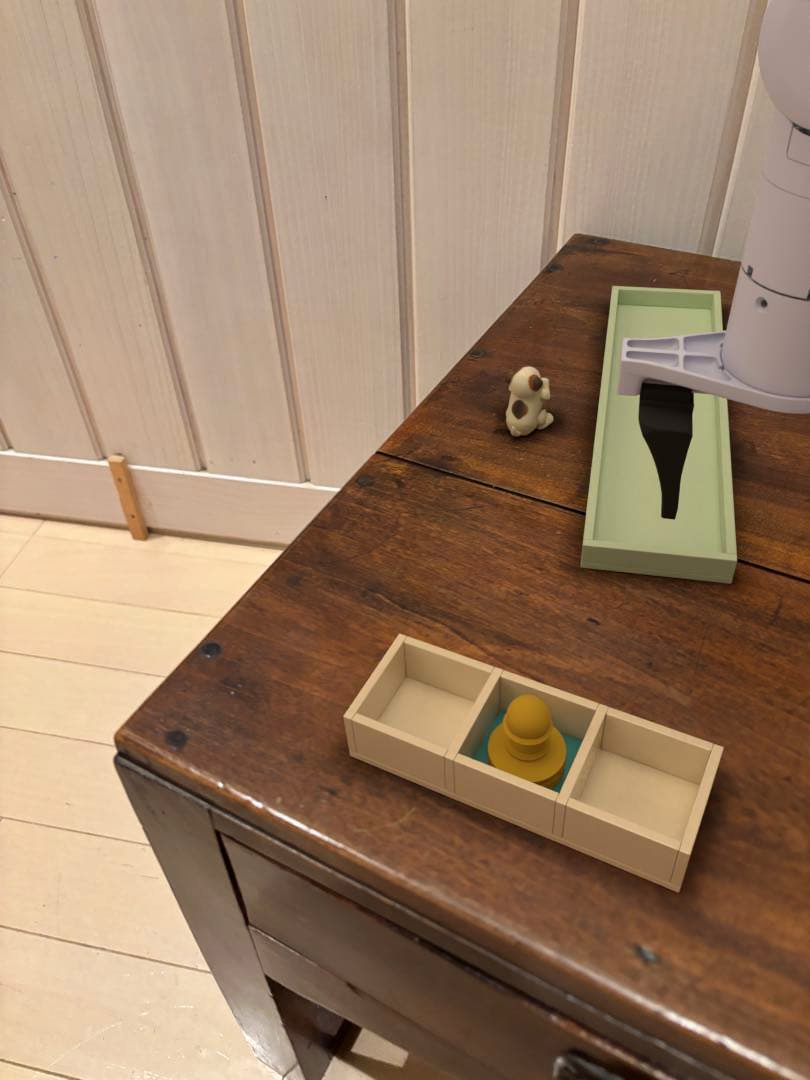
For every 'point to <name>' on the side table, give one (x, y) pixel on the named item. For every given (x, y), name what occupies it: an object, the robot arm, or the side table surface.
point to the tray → (629, 469)
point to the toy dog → (527, 401)
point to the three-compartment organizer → (559, 814)
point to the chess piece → (528, 743)
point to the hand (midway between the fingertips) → (745, 514)
